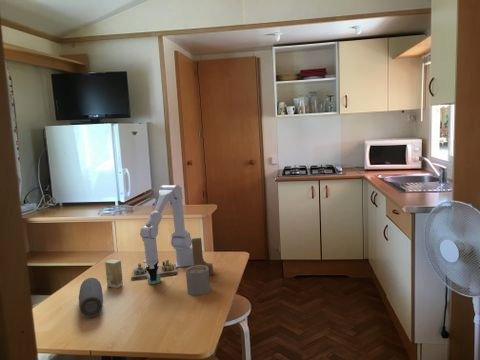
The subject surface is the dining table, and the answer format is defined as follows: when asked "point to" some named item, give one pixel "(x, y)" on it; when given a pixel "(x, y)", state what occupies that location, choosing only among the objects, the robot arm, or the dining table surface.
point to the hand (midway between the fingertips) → (153, 278)
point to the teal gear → (154, 281)
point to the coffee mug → (198, 280)
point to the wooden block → (200, 255)
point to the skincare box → (114, 273)
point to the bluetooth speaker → (90, 297)
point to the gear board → (162, 270)
